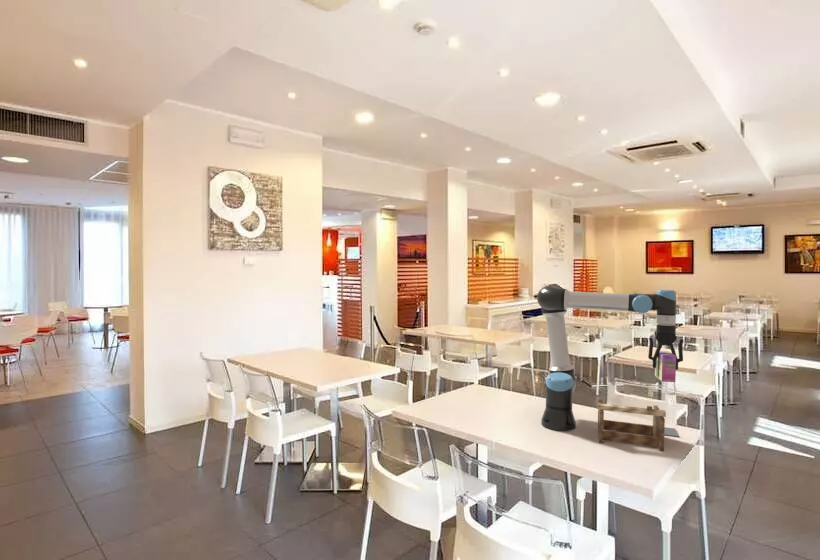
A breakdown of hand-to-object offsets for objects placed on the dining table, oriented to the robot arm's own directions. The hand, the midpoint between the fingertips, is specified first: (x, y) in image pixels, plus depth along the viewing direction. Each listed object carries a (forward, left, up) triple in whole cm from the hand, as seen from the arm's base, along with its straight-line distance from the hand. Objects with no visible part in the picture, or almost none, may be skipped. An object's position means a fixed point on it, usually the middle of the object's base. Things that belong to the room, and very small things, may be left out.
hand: (665, 376), depth 210 cm
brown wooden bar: (-15, -21, -12) cm, 29 cm away
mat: (+1, +1, -25) cm, 25 cm away
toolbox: (-15, -15, -25) cm, 33 cm away
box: (0, 0, -2) cm, 2 cm away
